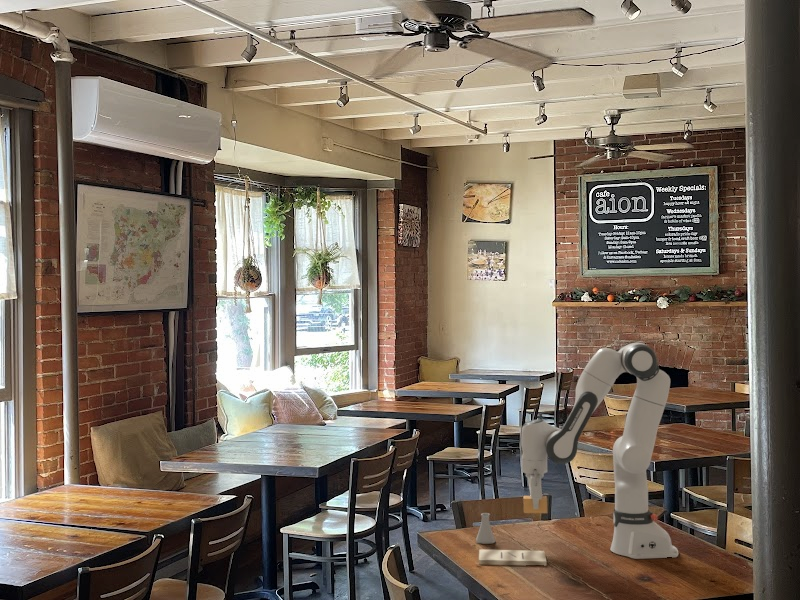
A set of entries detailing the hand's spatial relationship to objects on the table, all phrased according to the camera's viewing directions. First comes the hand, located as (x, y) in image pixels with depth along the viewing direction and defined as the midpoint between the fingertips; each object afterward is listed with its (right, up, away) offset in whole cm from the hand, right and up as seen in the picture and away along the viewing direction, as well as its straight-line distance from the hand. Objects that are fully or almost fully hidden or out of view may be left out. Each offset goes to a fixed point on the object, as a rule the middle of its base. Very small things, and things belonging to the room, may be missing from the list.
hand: (535, 506), depth 323 cm
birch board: (-10, -15, -12) cm, 21 cm away
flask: (-16, -15, +10) cm, 24 cm away
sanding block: (0, -2, 0) cm, 2 cm away
